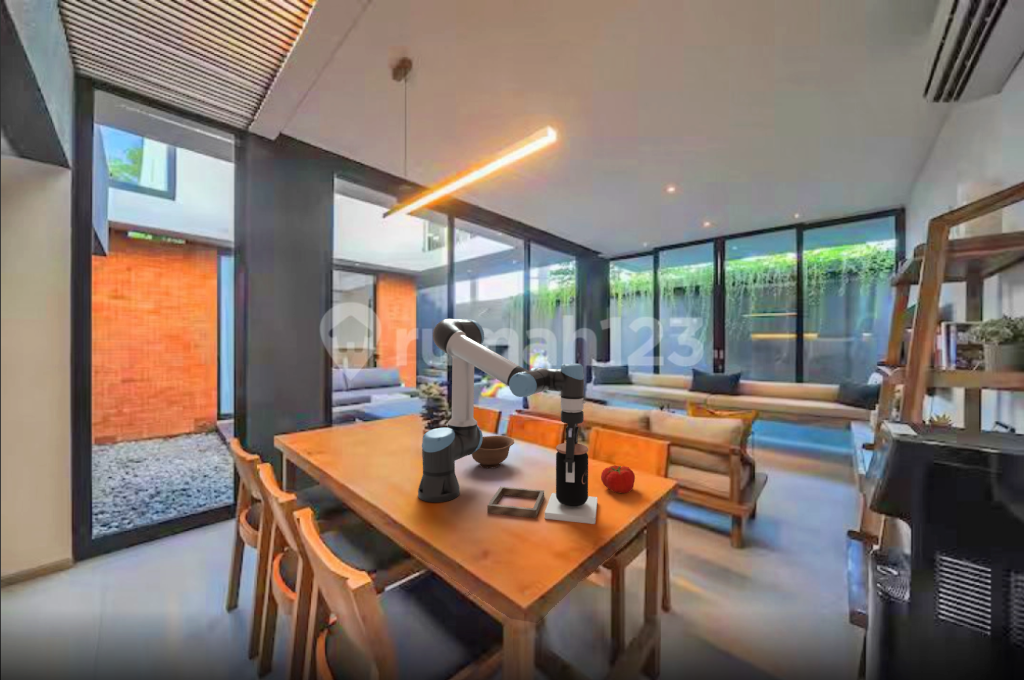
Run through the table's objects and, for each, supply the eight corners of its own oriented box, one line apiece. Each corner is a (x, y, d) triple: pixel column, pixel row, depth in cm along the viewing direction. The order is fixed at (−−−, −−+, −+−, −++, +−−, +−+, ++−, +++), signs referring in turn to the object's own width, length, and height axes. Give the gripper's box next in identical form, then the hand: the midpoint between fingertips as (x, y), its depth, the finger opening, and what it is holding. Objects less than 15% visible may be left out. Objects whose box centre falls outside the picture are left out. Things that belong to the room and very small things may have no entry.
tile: (544, 518, 133) (544, 512, 133) (551, 498, 148) (551, 492, 148) (595, 524, 129) (595, 517, 129) (597, 502, 144) (597, 497, 144)
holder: (487, 512, 137) (487, 505, 137) (500, 493, 153) (500, 486, 153) (535, 517, 133) (535, 510, 133) (544, 497, 149) (544, 490, 149)
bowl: (471, 456, 196) (471, 433, 196) (517, 458, 193) (517, 435, 193) (459, 472, 175) (459, 447, 174) (510, 475, 172) (510, 448, 171)
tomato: (608, 481, 165) (608, 459, 164) (640, 488, 157) (640, 465, 157) (594, 492, 153) (594, 469, 153) (627, 500, 146) (627, 476, 146)
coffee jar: (587, 508, 132) (587, 453, 132) (554, 505, 134) (554, 451, 134) (588, 495, 143) (588, 443, 142) (557, 492, 145) (557, 441, 144)
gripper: (580, 418, 125) (580, 489, 126) (585, 404, 148) (585, 465, 149) (556, 417, 127) (556, 487, 128) (564, 403, 150) (564, 463, 150)
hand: (571, 475), depth 138 cm, fingers closed on coffee jar, 11 cm apart
